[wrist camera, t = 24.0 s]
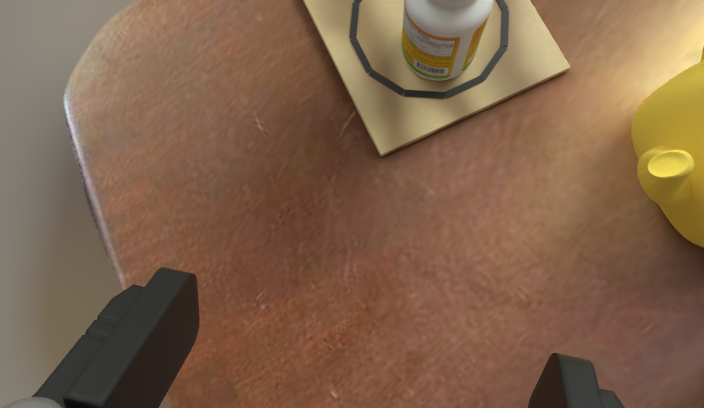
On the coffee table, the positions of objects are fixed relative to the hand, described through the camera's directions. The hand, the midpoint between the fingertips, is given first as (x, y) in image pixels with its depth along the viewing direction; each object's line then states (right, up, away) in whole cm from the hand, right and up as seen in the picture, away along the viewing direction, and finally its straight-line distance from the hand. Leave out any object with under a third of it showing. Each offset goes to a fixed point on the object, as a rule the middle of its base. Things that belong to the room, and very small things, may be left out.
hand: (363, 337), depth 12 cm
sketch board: (+5, +16, +28) cm, 33 cm away
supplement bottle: (+6, +14, +27) cm, 31 cm away
